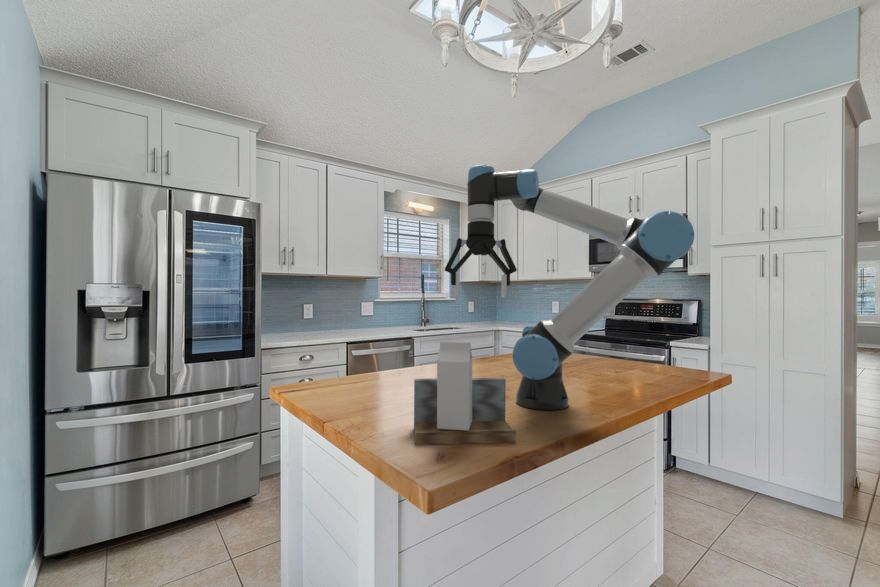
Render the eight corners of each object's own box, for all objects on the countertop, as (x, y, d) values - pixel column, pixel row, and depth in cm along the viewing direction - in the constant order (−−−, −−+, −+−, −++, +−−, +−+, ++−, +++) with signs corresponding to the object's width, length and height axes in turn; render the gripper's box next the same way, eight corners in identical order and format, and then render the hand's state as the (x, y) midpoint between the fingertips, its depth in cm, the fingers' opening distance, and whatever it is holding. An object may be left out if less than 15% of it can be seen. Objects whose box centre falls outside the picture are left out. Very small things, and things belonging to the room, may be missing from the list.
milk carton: (469, 431, 89) (469, 343, 90) (436, 429, 91) (437, 343, 91) (472, 422, 96) (472, 341, 97) (442, 421, 98) (442, 340, 98)
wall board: (503, 426, 101) (503, 377, 101) (515, 442, 90) (516, 387, 90) (413, 428, 99) (414, 378, 99) (415, 445, 88) (416, 389, 88)
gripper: (519, 225, 121) (519, 297, 121) (435, 223, 118) (435, 297, 118) (527, 221, 114) (527, 297, 114) (438, 218, 111) (437, 297, 111)
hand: (480, 297), depth 116 cm, fingers open, 13 cm apart
